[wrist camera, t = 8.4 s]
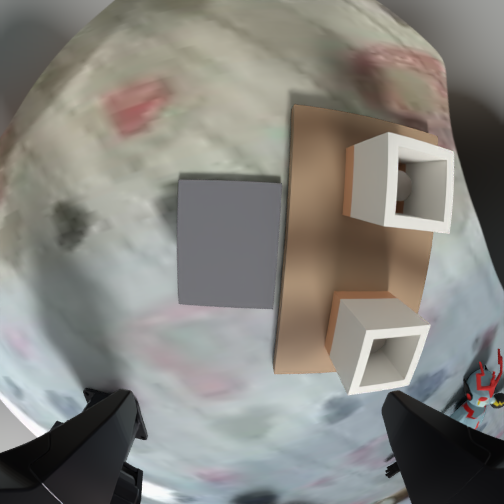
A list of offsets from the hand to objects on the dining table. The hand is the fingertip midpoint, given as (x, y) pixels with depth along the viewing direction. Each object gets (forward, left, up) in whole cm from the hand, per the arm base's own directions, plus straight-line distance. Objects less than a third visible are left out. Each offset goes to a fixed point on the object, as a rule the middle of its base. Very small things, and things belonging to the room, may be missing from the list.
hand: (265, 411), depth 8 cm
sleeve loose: (+8, -8, -11) cm, 16 cm away
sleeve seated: (-2, -8, -11) cm, 14 cm away
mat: (+3, +2, -12) cm, 13 cm away
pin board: (+3, -8, -12) cm, 15 cm away
